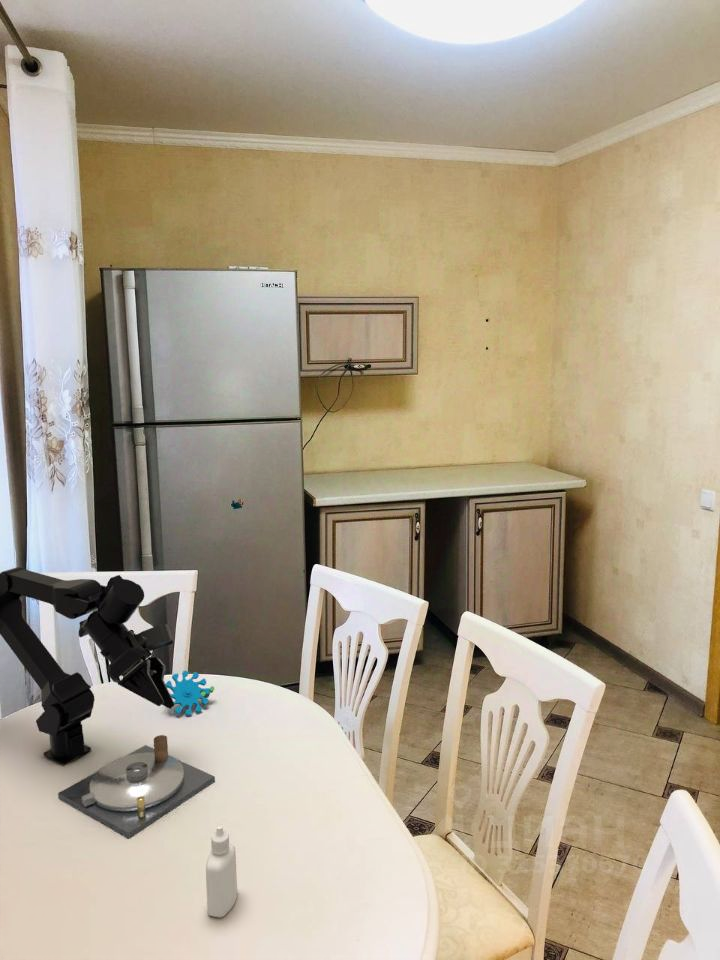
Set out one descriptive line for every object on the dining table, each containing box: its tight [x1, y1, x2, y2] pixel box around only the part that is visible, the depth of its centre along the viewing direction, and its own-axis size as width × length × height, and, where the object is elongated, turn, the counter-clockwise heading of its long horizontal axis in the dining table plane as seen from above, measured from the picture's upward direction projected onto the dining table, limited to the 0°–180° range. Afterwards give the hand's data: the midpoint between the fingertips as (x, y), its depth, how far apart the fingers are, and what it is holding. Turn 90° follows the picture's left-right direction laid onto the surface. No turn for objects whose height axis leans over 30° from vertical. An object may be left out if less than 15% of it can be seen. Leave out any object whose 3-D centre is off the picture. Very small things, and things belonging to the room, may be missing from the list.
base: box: [57, 744, 216, 839], centre depth 129 cm, size 19×19×4 cm
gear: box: [165, 670, 215, 717], centre depth 159 cm, size 11×6×10 cm
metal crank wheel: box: [82, 734, 184, 811], centre depth 128 cm, size 16×18×5 cm
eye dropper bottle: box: [205, 825, 238, 918], centre depth 101 cm, size 4×6×12 cm
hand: (167, 705), depth 126 cm, fingers open, 9 cm apart
